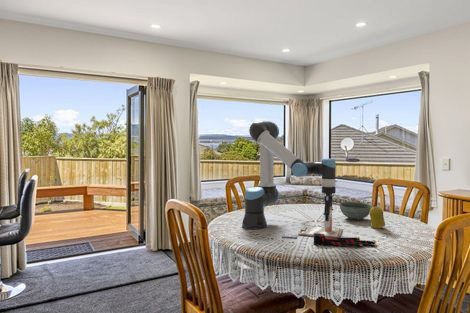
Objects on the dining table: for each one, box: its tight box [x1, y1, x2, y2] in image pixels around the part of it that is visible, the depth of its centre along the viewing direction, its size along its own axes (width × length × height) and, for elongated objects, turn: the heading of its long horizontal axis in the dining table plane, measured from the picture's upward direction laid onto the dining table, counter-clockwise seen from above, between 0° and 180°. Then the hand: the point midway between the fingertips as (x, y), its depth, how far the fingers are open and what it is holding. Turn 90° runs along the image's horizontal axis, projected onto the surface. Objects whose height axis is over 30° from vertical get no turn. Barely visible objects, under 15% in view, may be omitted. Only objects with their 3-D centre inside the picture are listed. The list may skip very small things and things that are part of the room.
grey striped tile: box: [281, 233, 298, 239], centre depth 187 cm, size 8×6×1 cm
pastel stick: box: [324, 205, 333, 232], centre depth 193 cm, size 4×4×14 cm
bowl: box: [338, 201, 373, 222], centre depth 227 cm, size 21×21×10 cm
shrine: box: [368, 204, 386, 230], centre depth 202 cm, size 12×8×15 cm
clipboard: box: [297, 225, 343, 238], centre depth 194 cm, size 22×20×2 cm
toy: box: [313, 233, 378, 248], centre depth 171 cm, size 8×5×30 cm
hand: (328, 224), depth 193 cm, fingers open, 12 cm apart
